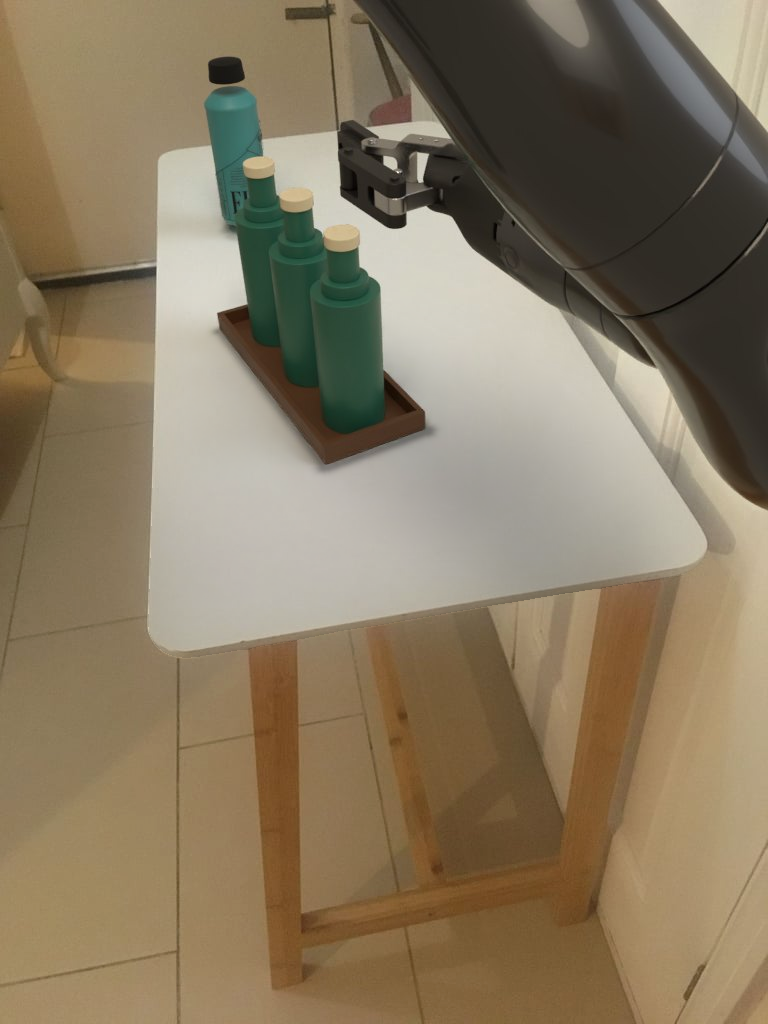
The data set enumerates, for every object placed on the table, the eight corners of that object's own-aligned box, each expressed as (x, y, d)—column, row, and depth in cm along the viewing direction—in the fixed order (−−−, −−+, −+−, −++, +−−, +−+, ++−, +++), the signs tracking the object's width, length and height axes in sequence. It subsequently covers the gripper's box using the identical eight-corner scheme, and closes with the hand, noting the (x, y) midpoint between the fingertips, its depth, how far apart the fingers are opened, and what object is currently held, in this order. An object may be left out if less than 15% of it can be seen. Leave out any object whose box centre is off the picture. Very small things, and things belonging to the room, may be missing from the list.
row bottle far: (243, 343, 91) (215, 171, 79) (264, 315, 96) (241, 148, 83) (296, 350, 90) (276, 177, 78) (315, 321, 94) (299, 152, 82)
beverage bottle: (231, 242, 110) (204, 71, 96) (216, 222, 114) (189, 56, 101) (280, 231, 112) (260, 62, 98) (264, 212, 116) (243, 48, 103)
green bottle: (313, 428, 80) (293, 244, 68) (334, 392, 84) (319, 213, 72) (374, 438, 79) (365, 252, 67) (392, 401, 83) (387, 220, 71)
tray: (425, 428, 80) (425, 411, 79) (325, 464, 77) (324, 446, 76) (305, 304, 98) (303, 288, 97) (219, 329, 95) (216, 312, 93)
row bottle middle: (275, 382, 86) (250, 205, 74) (296, 351, 90) (277, 177, 78) (331, 391, 84) (316, 211, 72) (350, 358, 89) (339, 183, 76)
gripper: (689, 115, 44) (505, 39, 54) (445, 175, 39) (296, 79, 49) (661, 255, 49) (498, 160, 59) (442, 323, 44) (308, 208, 55)
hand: (406, 124), depth 54 cm, fingers open, 8 cm apart
